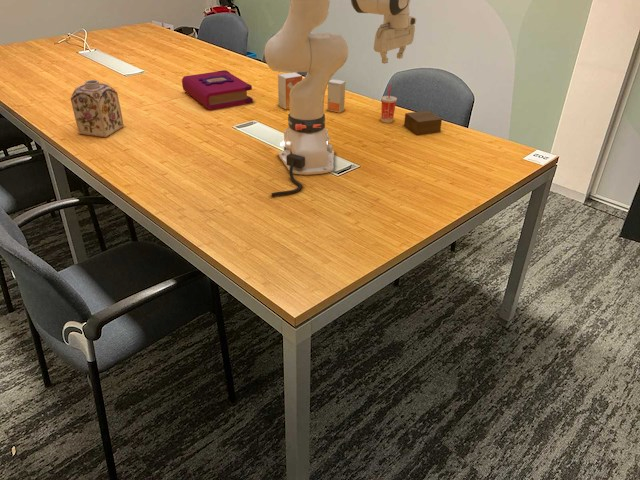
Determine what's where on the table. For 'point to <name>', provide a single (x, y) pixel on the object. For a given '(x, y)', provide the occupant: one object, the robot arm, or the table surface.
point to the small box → (286, 87)
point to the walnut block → (422, 122)
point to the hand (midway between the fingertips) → (392, 60)
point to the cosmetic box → (336, 95)
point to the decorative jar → (96, 109)
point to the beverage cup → (388, 107)
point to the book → (217, 89)
